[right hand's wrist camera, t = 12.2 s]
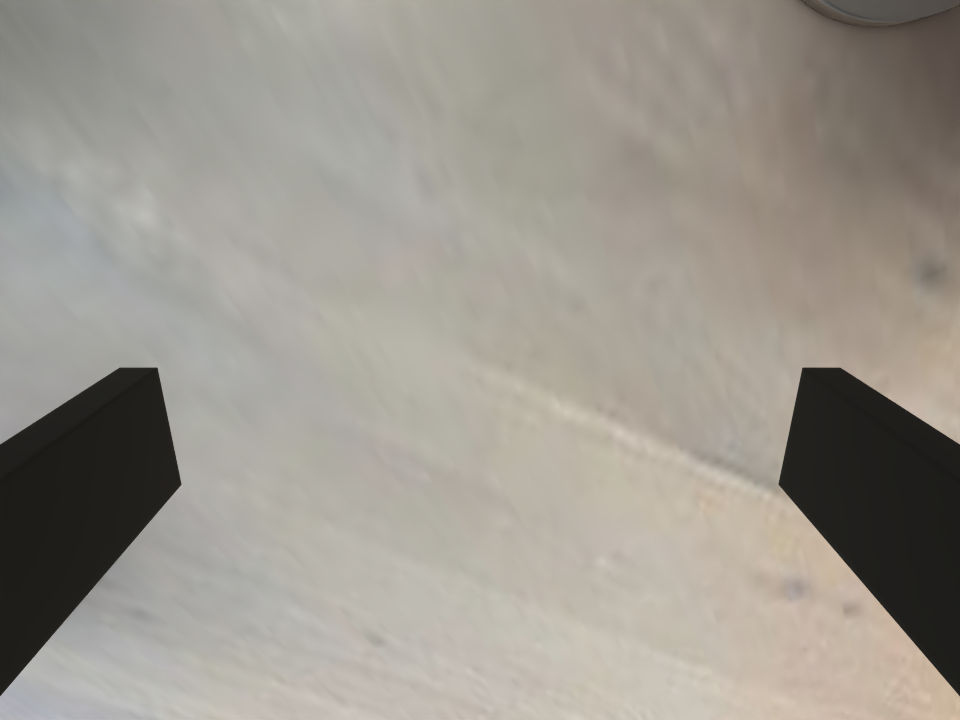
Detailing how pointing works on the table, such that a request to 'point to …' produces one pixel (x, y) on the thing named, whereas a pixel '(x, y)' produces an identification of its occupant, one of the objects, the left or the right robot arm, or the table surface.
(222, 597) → the table surface
